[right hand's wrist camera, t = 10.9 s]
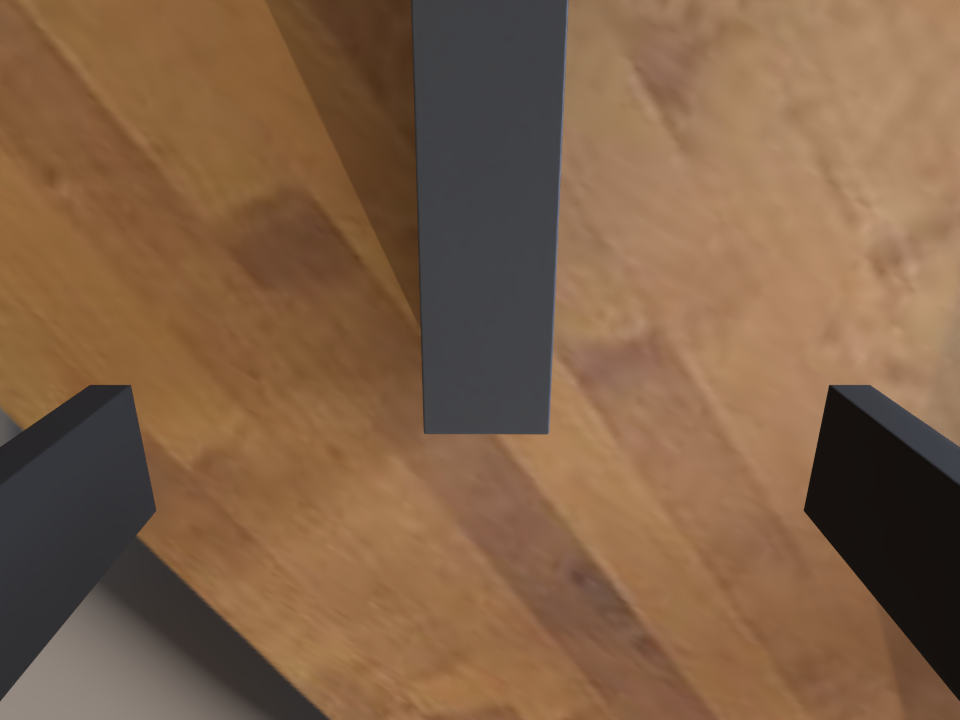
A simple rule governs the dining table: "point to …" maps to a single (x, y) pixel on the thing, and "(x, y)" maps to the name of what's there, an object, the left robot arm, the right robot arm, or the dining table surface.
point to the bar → (488, 208)
